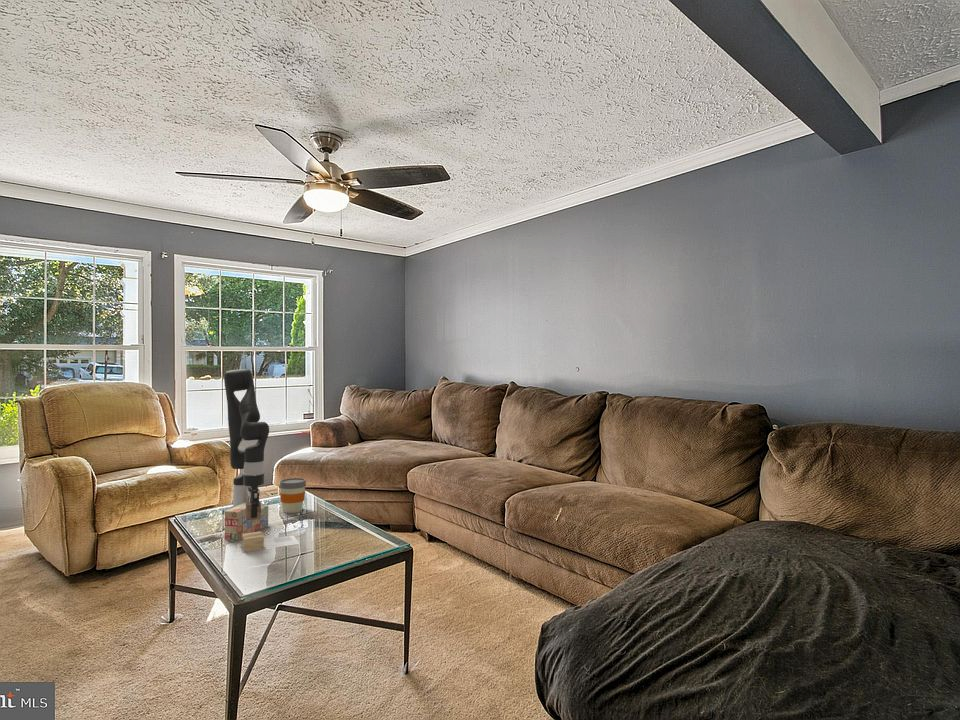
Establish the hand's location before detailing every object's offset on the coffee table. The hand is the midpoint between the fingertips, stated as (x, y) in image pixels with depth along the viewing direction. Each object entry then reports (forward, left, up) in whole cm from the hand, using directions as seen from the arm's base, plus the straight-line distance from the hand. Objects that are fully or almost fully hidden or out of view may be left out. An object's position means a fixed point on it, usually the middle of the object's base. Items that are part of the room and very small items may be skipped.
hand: (253, 515), depth 200 cm
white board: (-2, +6, -13) cm, 15 cm away
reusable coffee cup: (-49, +24, -13) cm, 56 cm away
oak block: (0, 0, -13) cm, 13 cm away
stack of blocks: (-23, +1, -13) cm, 27 cm away
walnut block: (0, 0, -1) cm, 1 cm away
